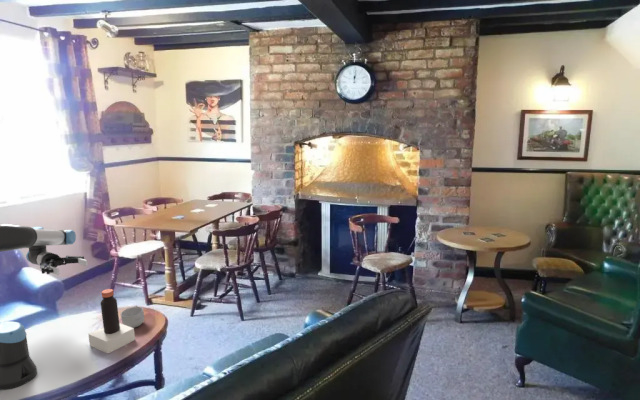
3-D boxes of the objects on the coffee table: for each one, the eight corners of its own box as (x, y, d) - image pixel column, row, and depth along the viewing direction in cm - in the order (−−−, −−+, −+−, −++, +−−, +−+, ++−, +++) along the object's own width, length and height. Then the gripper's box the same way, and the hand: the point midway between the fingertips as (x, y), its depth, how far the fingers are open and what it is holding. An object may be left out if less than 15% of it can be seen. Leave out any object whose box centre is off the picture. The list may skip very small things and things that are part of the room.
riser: (108, 353, 195) (106, 341, 193) (89, 345, 202) (88, 333, 201) (135, 339, 206) (133, 328, 205) (117, 332, 213) (115, 321, 212)
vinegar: (117, 325, 208) (112, 286, 204) (122, 330, 203) (117, 290, 199) (102, 330, 203) (97, 291, 199) (107, 335, 198) (102, 295, 195)
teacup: (139, 330, 215) (138, 315, 214) (118, 330, 216) (116, 315, 214) (150, 317, 229) (149, 303, 228) (130, 317, 229) (128, 303, 228)
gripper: (74, 260, 227) (98, 266, 217) (22, 275, 206) (46, 283, 196) (72, 246, 226) (96, 252, 215) (20, 260, 205) (44, 267, 194)
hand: (72, 267), depth 205 cm, fingers open, 13 cm apart
